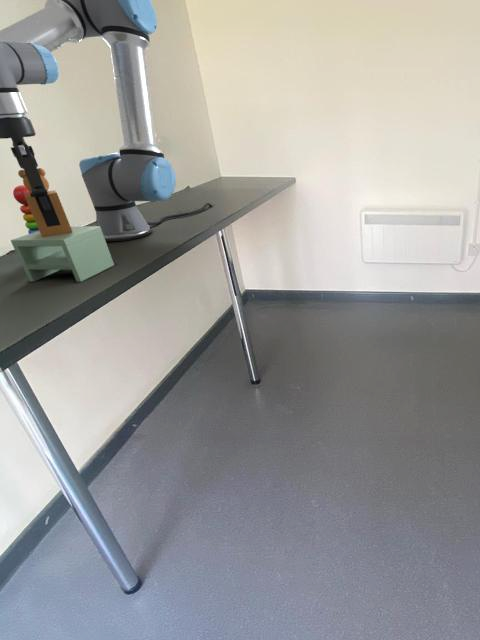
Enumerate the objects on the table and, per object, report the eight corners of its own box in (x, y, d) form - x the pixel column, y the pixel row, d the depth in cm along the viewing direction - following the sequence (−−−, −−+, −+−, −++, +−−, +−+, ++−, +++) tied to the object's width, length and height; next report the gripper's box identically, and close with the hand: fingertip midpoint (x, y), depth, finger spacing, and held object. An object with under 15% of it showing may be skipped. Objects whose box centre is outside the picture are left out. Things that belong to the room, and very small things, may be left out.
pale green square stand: (67, 265, 129) (50, 226, 124) (114, 265, 127) (100, 226, 122) (29, 281, 118) (10, 240, 113) (81, 281, 116) (63, 239, 111)
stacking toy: (63, 250, 142) (34, 181, 132) (73, 254, 138) (44, 183, 128) (33, 257, 137) (0, 186, 127) (43, 261, 133) (10, 188, 123)
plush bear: (41, 233, 118) (13, 169, 110) (70, 228, 121) (45, 166, 113) (42, 237, 114) (13, 171, 106) (73, 232, 117) (47, 168, 109)
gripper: (-12, 117, 111) (31, 216, 122) (-14, 118, 94) (36, 233, 106) (26, 115, 114) (65, 211, 126) (31, 116, 98) (74, 227, 109)
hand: (52, 221), depth 116 cm, fingers open, 11 cm apart
